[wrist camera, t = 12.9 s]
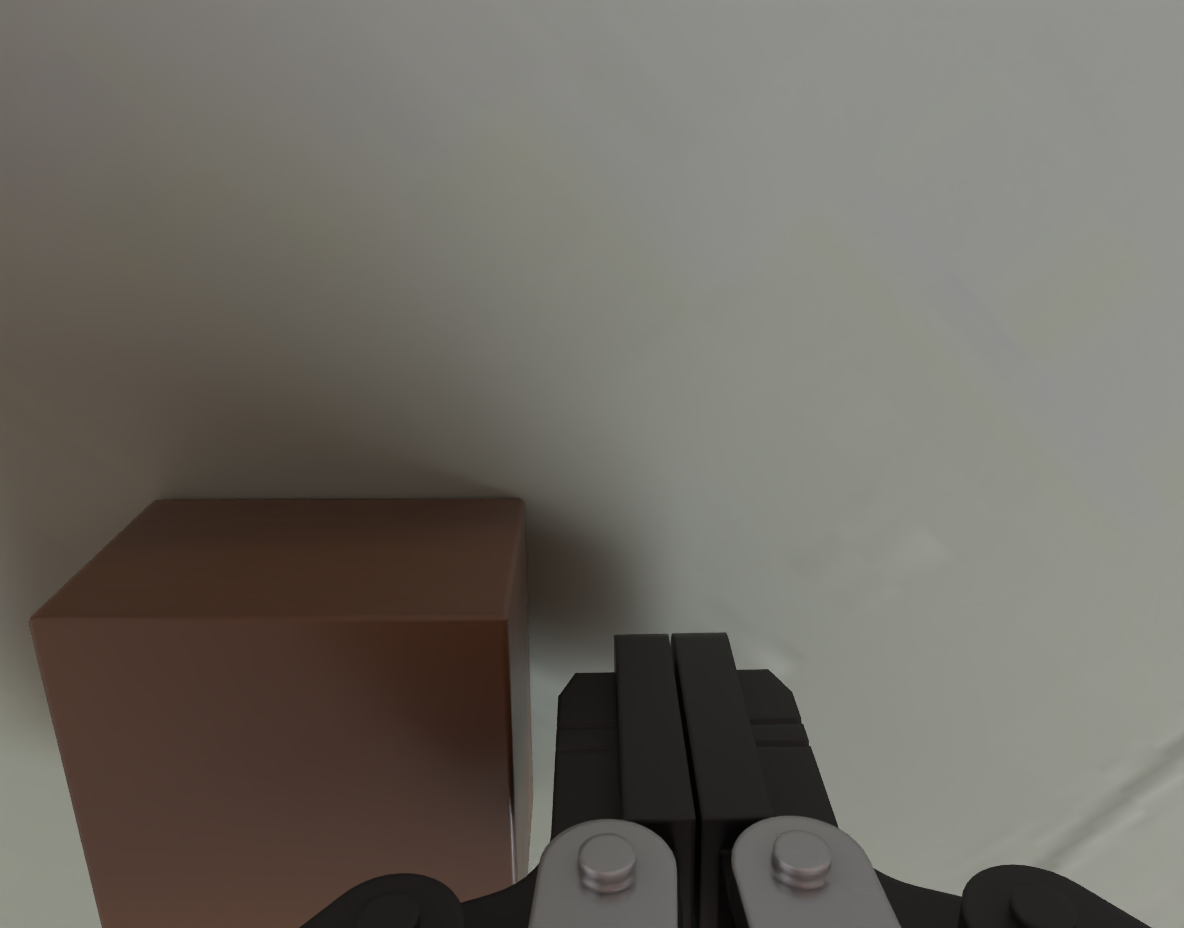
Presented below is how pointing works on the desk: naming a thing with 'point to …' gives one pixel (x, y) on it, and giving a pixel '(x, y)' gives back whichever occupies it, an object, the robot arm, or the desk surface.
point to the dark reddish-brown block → (294, 705)
